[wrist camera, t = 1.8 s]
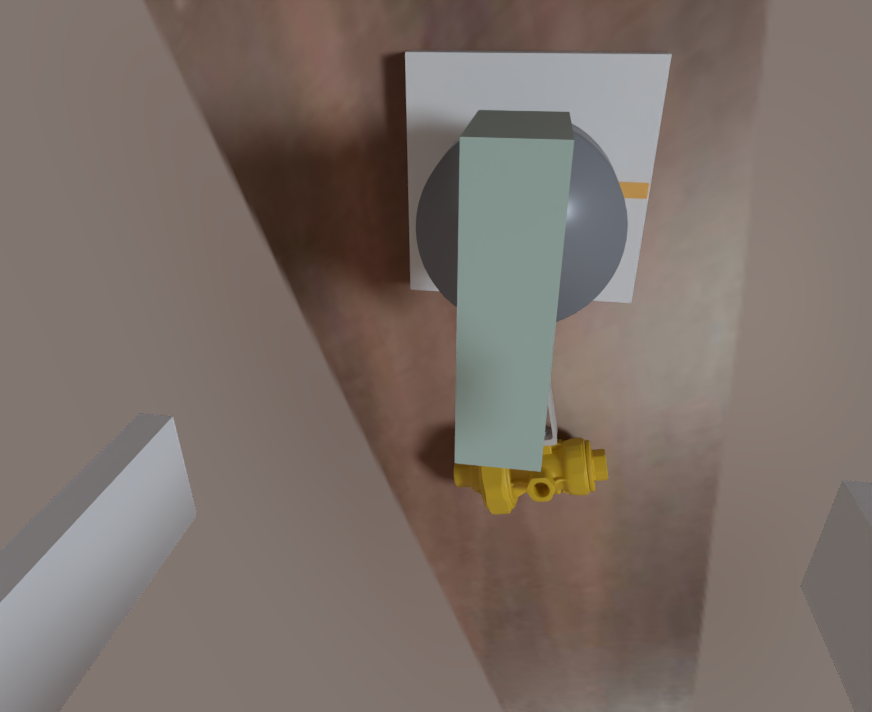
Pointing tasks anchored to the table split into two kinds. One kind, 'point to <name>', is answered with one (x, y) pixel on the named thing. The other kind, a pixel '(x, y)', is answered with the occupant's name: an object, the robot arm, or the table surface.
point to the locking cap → (516, 266)
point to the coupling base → (541, 91)
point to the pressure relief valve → (560, 470)
